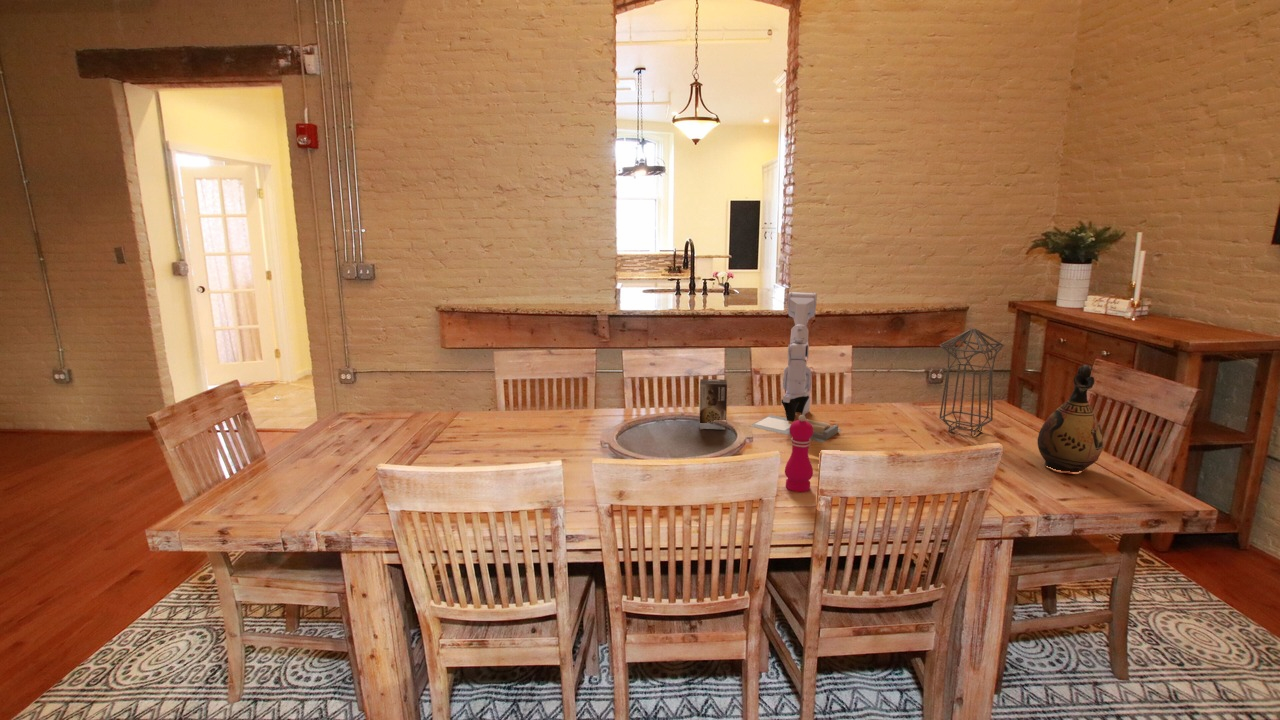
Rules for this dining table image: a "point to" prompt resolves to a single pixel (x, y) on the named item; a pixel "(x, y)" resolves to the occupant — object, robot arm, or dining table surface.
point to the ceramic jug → (1072, 430)
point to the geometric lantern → (963, 337)
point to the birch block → (813, 424)
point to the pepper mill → (799, 456)
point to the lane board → (783, 427)
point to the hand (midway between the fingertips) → (794, 418)
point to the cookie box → (713, 400)
